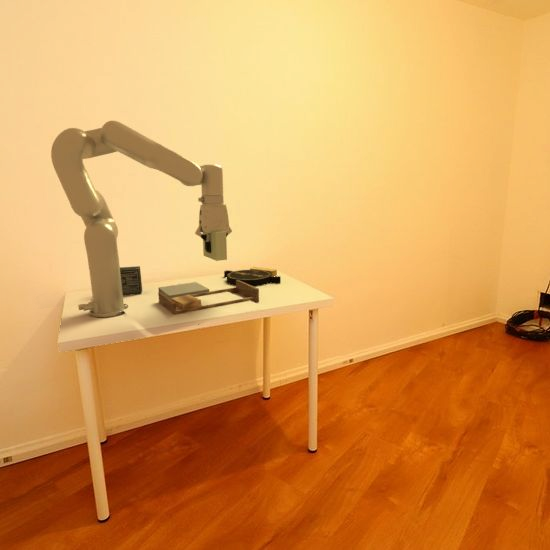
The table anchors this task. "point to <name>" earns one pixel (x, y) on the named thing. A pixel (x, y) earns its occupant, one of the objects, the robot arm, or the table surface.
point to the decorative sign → (253, 276)
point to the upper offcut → (186, 301)
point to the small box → (131, 280)
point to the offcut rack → (240, 288)
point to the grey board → (183, 289)
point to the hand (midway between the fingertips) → (214, 251)
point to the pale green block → (217, 246)
